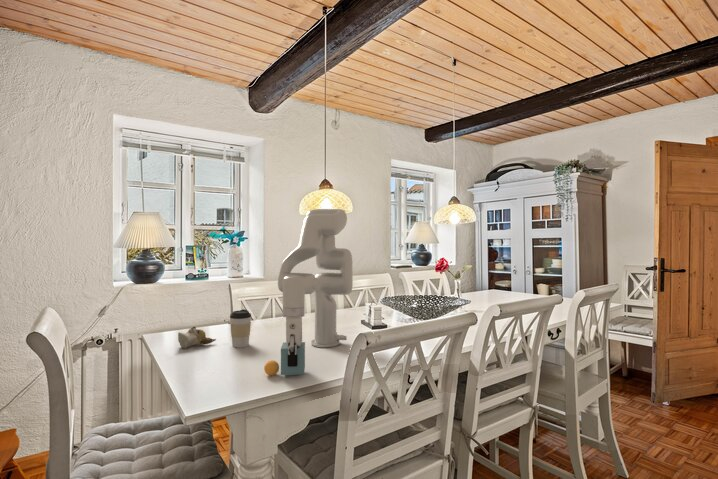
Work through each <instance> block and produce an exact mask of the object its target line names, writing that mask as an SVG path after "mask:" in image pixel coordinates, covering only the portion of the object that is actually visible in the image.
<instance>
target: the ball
mask: <svg viewBox="0 0 718 479" xmlns="http://www.w3.org/2000/svg"><path fill="white" fill-rule="evenodd" d="M263 370H264V373H265V374H266V375H267V376H272V377H273V376H275V375H277V373H279V370H280V365H279V363H278V361H276V360H273V359H272V360H268V361H267V362H266V363H265V365H264V369H263Z"/></svg>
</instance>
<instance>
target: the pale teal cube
mask: <svg viewBox="0 0 718 479" xmlns="http://www.w3.org/2000/svg"><path fill="white" fill-rule="evenodd" d="M294 345H296V344H294ZM305 369H306V341H302V344H301V346H300V347H299V346H297V366H296V367H288V346H287V344H286V341H285V342H283V343H282V345H281V347H280V375H281V376H289V375H290V376H291V375H292V376H293V375H305Z"/></svg>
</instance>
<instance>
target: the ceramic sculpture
mask: <svg viewBox="0 0 718 479" xmlns="http://www.w3.org/2000/svg"><path fill="white" fill-rule="evenodd" d="M177 336H178V337H177V339H178V340H177V341H178V343H179V346H180V348H182V349H185V350H186V349H188V348H189V347H190V346H192V347H198V346H202V345H209V344H212V343H213V342H215V341H216V340H217V339H216V338H211V337H206V332H205V331H204V329H201V328H197V326H192V327H190V328H189V329H188V331H187V332H178V333H177Z"/></svg>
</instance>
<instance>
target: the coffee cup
mask: <svg viewBox="0 0 718 479" xmlns="http://www.w3.org/2000/svg"><path fill="white" fill-rule="evenodd" d="M229 319H230V321H231V323H230V322H229V323H230V324H229V325H230V335H231V336H230V337H231V345H232V347H233V348H246V347H248V346H249V345H250V336H251V335H250V334H251V325H252V324H251V323H252V322H251V321H252V313H250V312H249V310H247V309H241V310H234V311H232V313H230V314H229Z"/></svg>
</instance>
